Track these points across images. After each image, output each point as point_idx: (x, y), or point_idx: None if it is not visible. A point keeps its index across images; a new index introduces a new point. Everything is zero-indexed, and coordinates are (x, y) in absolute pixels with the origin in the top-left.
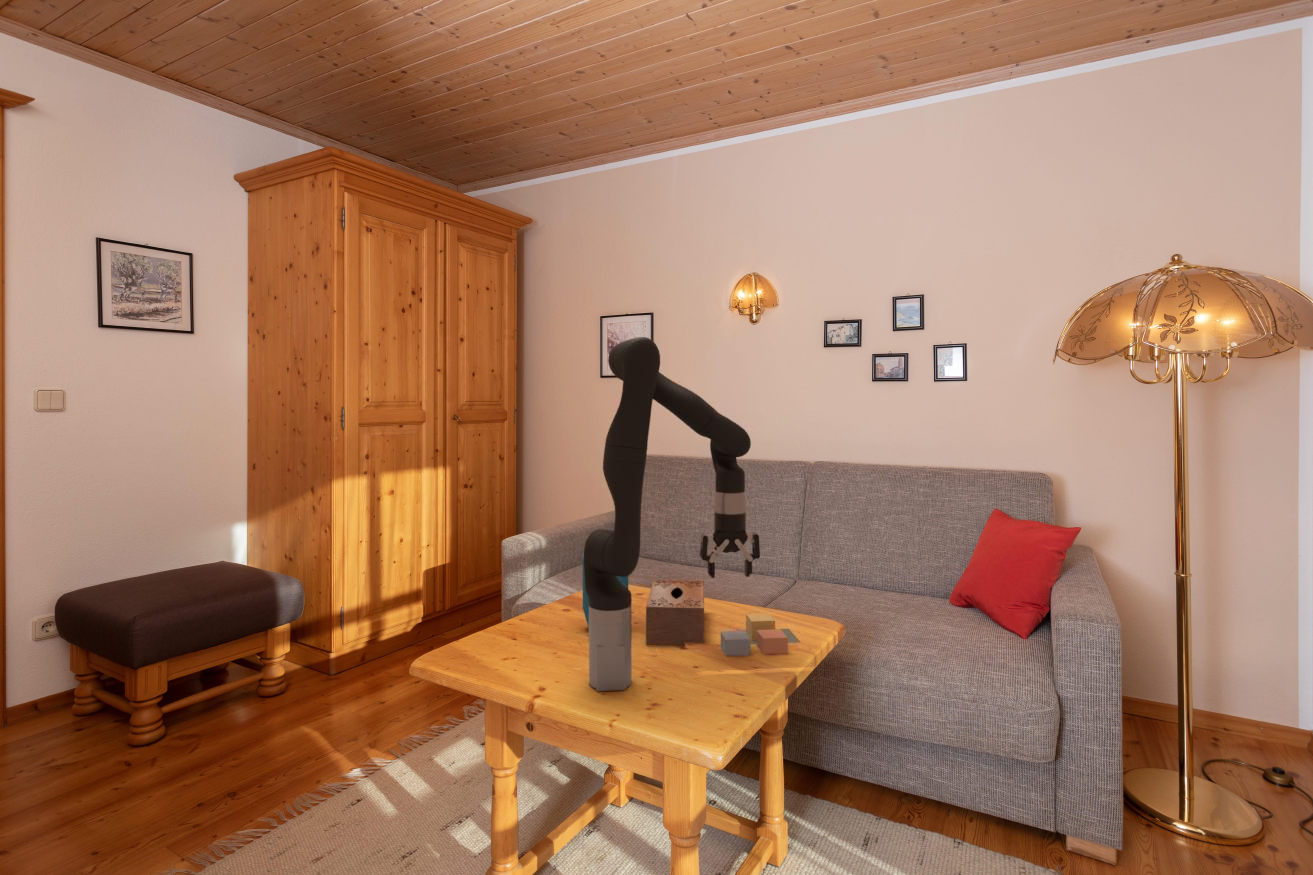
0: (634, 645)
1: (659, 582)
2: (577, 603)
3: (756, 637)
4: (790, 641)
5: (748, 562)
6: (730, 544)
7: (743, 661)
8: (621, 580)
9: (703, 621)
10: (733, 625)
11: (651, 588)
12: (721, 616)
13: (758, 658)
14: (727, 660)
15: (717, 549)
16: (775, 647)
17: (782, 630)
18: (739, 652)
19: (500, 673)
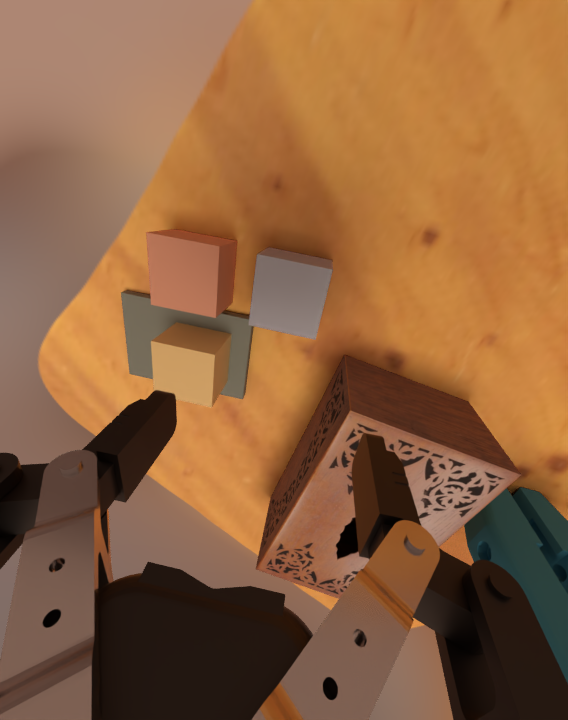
0: (495, 408)
1: None
2: None
3: (217, 334)
4: (143, 303)
5: (107, 449)
6: (180, 718)
7: (291, 236)
8: (556, 615)
9: (349, 387)
10: (235, 434)
11: None
12: (242, 477)
13: (247, 245)
14: (328, 255)
15: (389, 669)
16: (194, 237)
17: (145, 368)
18: (294, 255)
19: None
